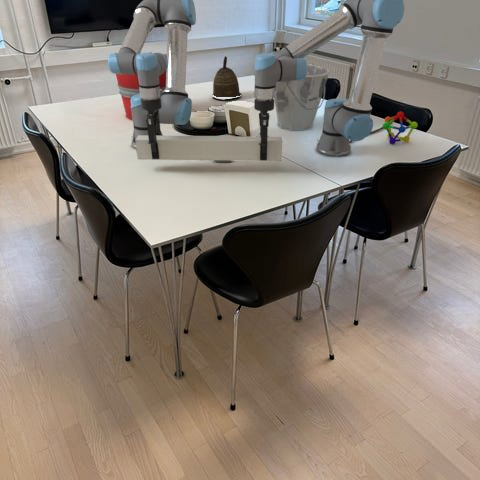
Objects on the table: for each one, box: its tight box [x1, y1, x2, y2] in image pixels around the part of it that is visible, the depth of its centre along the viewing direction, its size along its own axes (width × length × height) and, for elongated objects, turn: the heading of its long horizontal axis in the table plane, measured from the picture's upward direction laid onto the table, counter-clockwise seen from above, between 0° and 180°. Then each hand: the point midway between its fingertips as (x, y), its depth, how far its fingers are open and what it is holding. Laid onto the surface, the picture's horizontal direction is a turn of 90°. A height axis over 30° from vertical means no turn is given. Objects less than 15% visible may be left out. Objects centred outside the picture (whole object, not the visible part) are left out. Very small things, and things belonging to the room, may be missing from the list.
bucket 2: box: [273, 64, 330, 131], centre depth 226 cm, size 30×30×28 cm
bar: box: [135, 135, 283, 162], centre depth 177 cm, size 58×5×8 cm, turn 89°
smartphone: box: [213, 160, 232, 163], centre depth 195 cm, size 7×1×15 cm
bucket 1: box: [115, 51, 167, 121], centre depth 240 cm, size 35×35×30 cm
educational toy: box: [382, 110, 418, 145], centre depth 207 cm, size 16×13×15 cm
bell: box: [212, 56, 242, 97], centre depth 278 cm, size 19×26×20 cm
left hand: (157, 155), depth 179 cm, fingers closed on bar, 5 cm apart
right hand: (263, 156), depth 178 cm, fingers closed on bar, 5 cm apart
